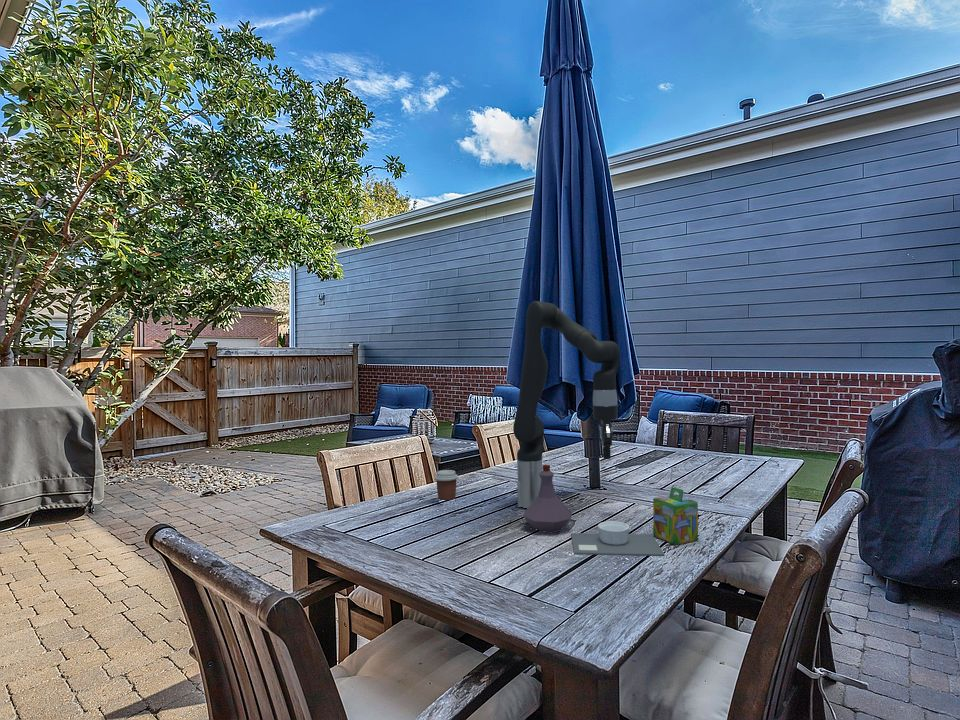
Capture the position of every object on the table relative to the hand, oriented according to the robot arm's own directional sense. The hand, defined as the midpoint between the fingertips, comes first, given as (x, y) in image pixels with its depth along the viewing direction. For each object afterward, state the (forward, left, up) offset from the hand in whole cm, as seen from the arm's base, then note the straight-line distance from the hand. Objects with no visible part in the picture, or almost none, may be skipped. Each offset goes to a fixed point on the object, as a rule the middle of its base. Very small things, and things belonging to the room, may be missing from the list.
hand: (606, 458), depth 160 cm
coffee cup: (-57, +27, -22) cm, 67 cm away
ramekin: (0, -12, -22) cm, 25 cm away
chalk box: (+18, -8, -22) cm, 30 cm away
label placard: (0, -14, -22) cm, 26 cm away
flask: (-19, 0, -22) cm, 29 cm away
